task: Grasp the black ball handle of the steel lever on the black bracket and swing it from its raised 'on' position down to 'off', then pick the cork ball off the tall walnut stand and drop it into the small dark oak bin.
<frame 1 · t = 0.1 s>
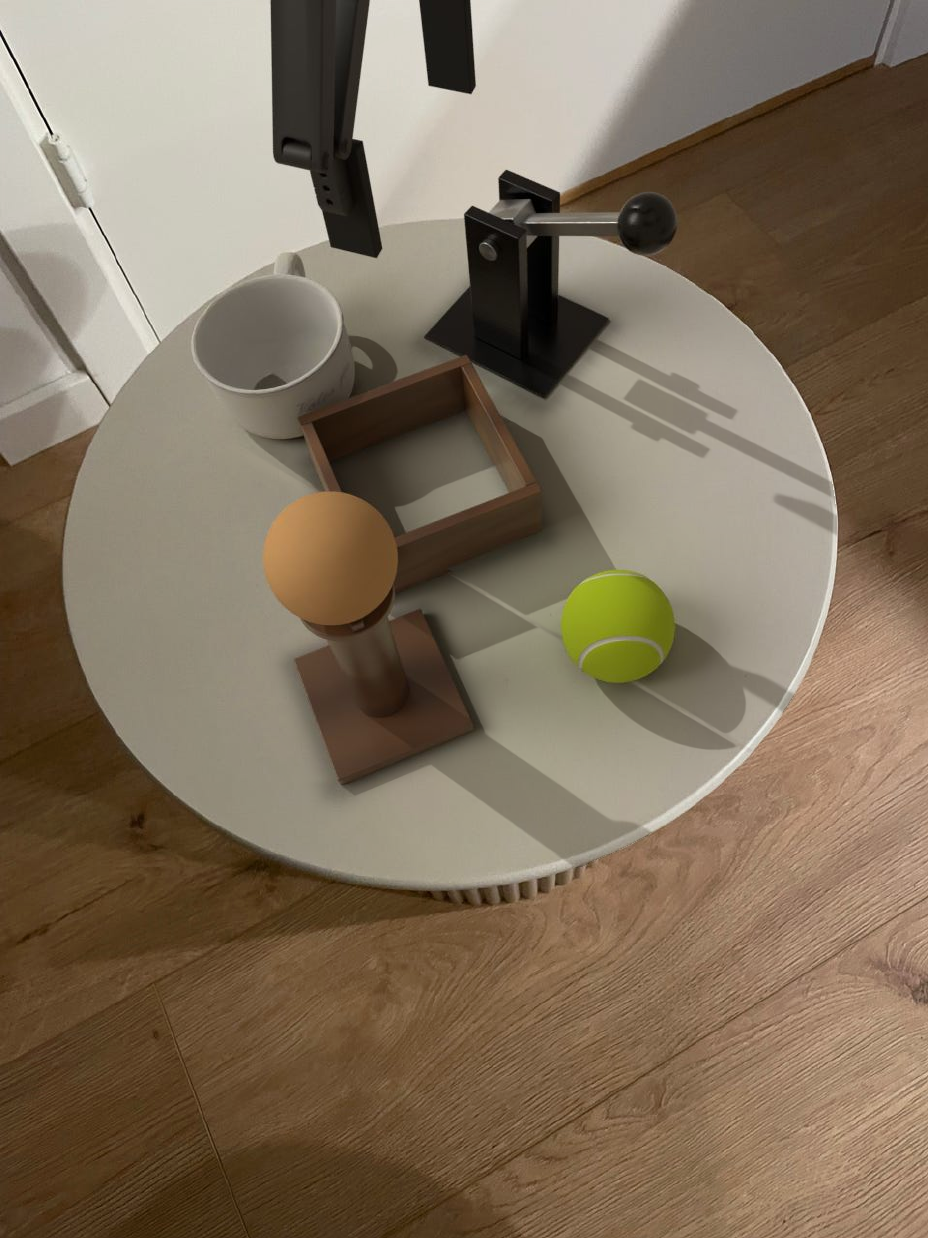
hand: (406, 163, 56), 21 cm above the table, tool pointing down, fingers open, 13 cm apart
bracket: (516, 337, 77), on the table
bin: (424, 501, 71), on the table
teacup: (299, 387, 77), on the table
stand: (383, 698, 65), on the table
tennis ball: (613, 651, 65), on the table
lever: (578, 224, 64), point 13 cm above the table, hinge at 25.0°
cork ball: (331, 558, 48), point 18 cm above the table, touching stand
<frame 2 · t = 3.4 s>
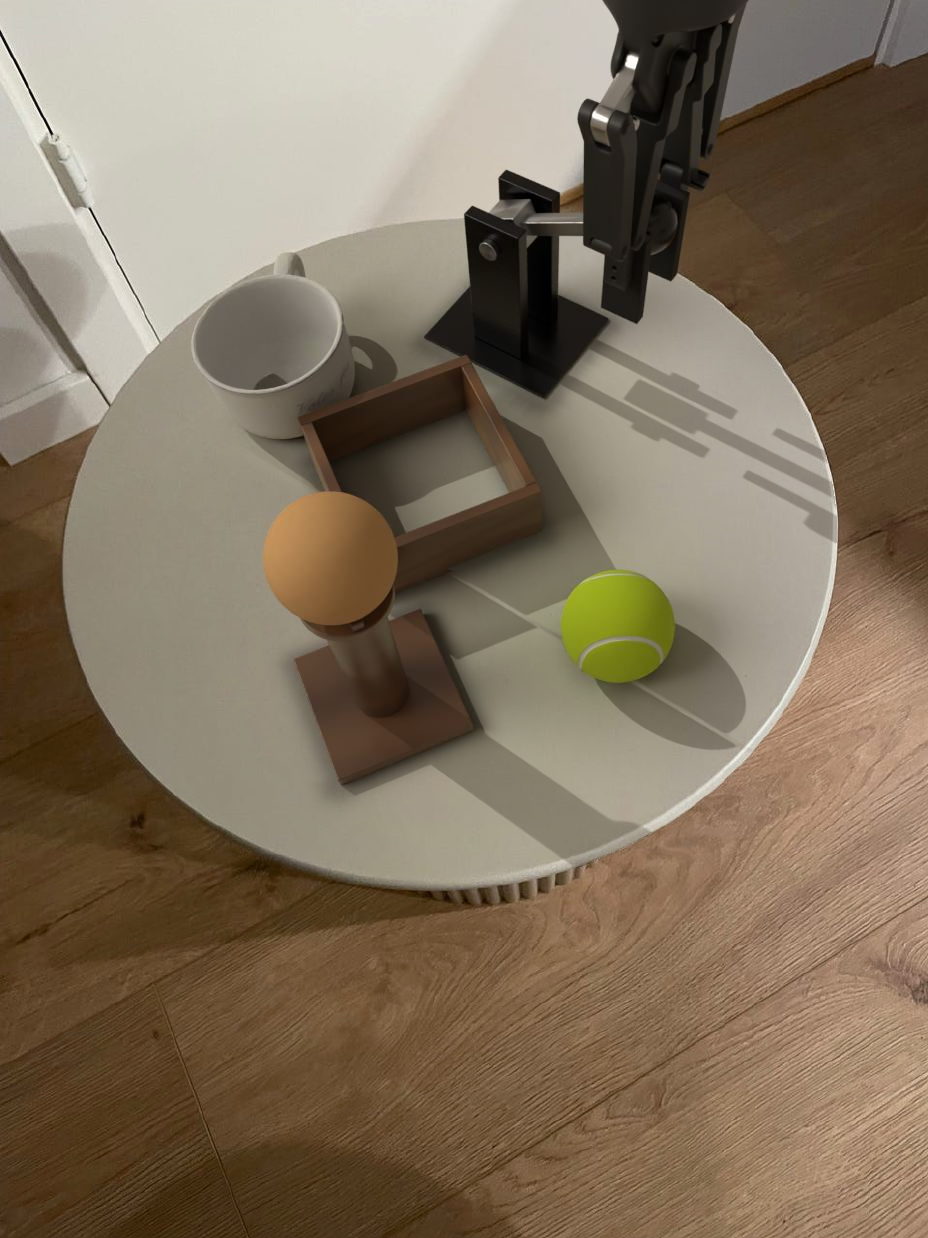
hand: (639, 290, 65), 10 cm above the table, tool pointing down, fingers closed on lever, 4 cm apart
lever: (578, 224, 64), point 13 cm above the table, hinge at 25.0°, touching gripper
everything else where it was.
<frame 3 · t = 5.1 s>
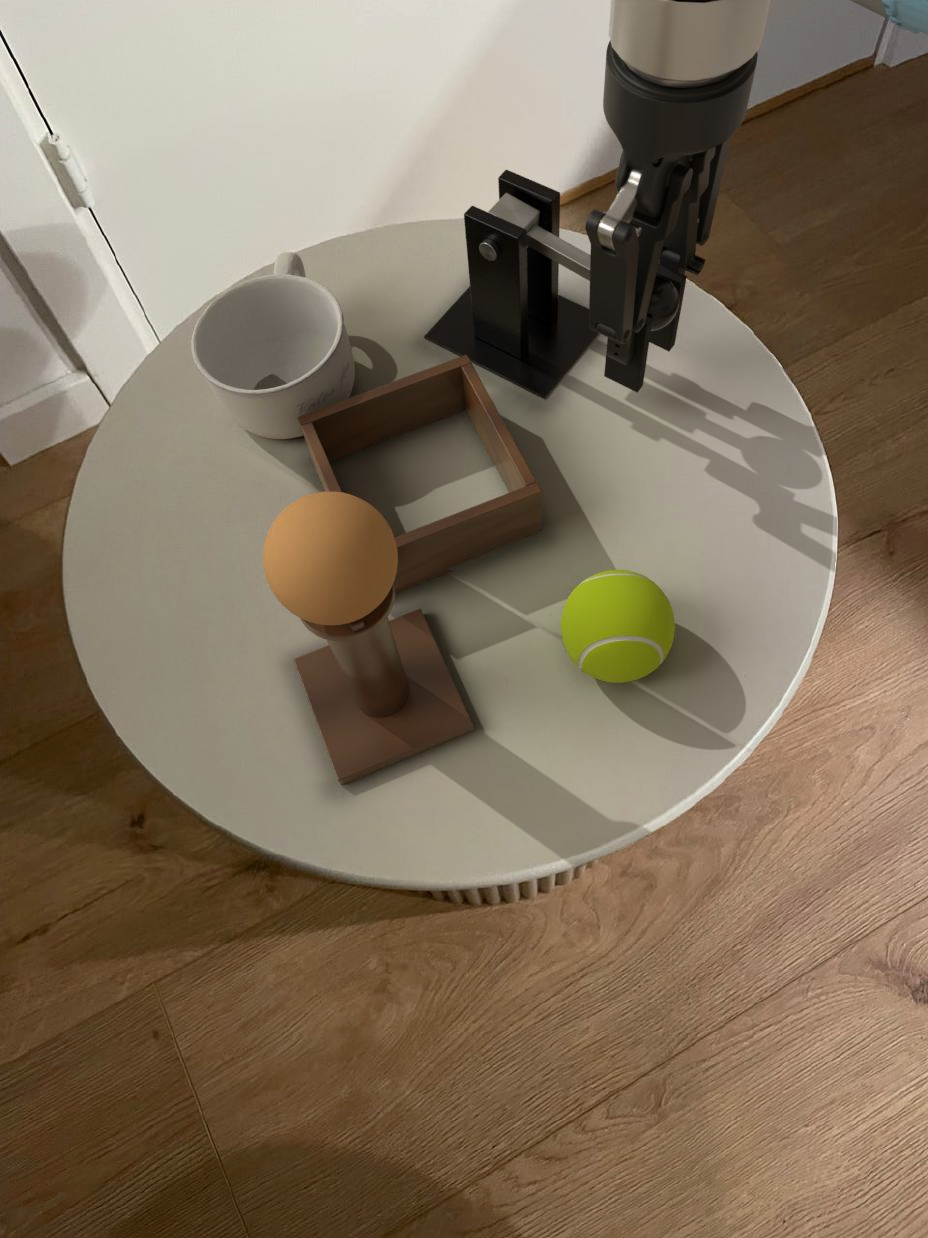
hand: (639, 359, 70), 4 cm above the table, tool pointing down, fingers closed on lever, 4 cm apart
lever: (583, 264, 66), point 10 cm above the table, hinge at -7.0°, touching gripper
everything else where it was.
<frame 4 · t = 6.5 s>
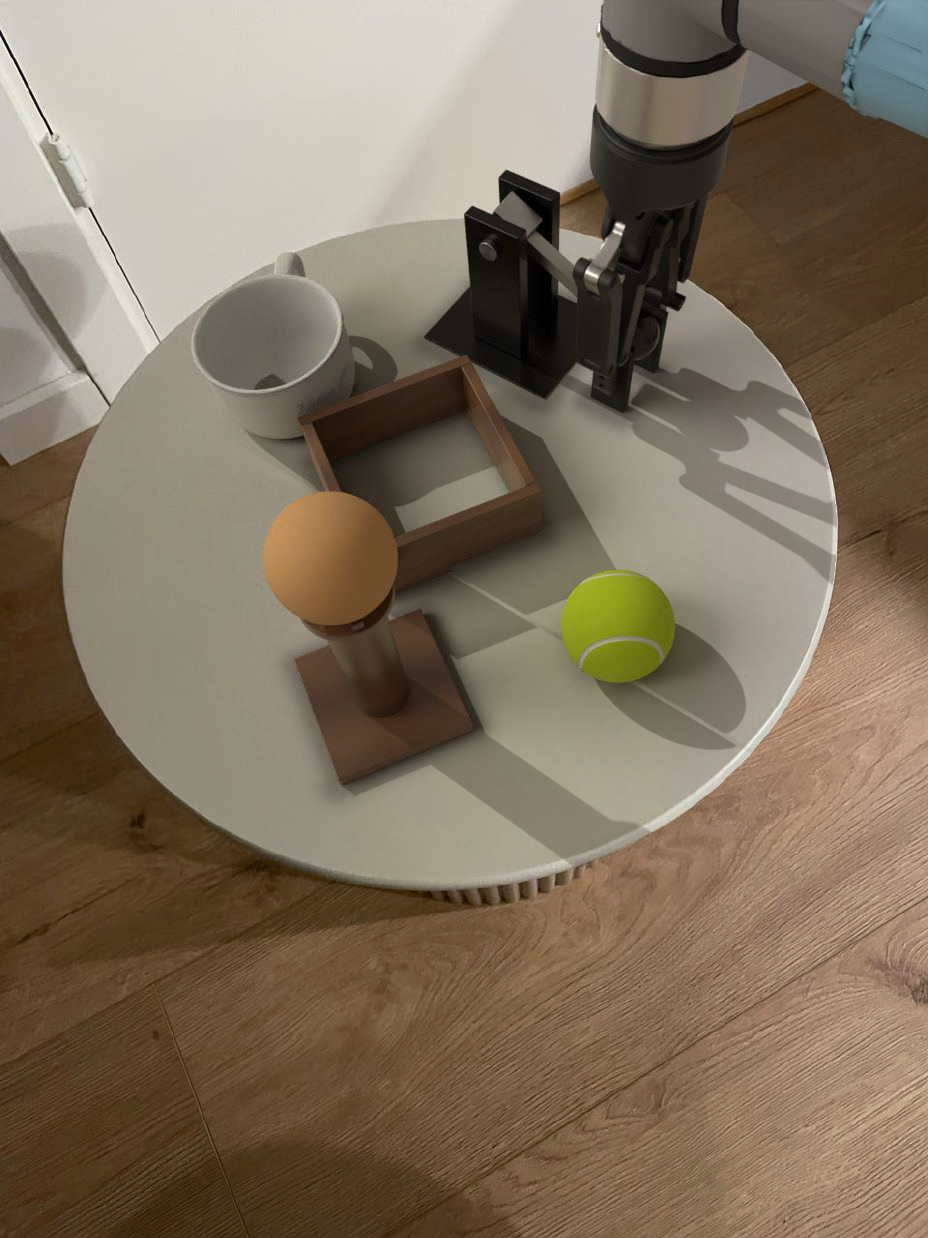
hand: (623, 388, 74), 0 cm above the table, tool pointing down, fingers closed on lever, 4 cm apart
lever: (575, 281, 68), point 9 cm above the table, hinge at -26.0°, touching gripper
everything else where it was.
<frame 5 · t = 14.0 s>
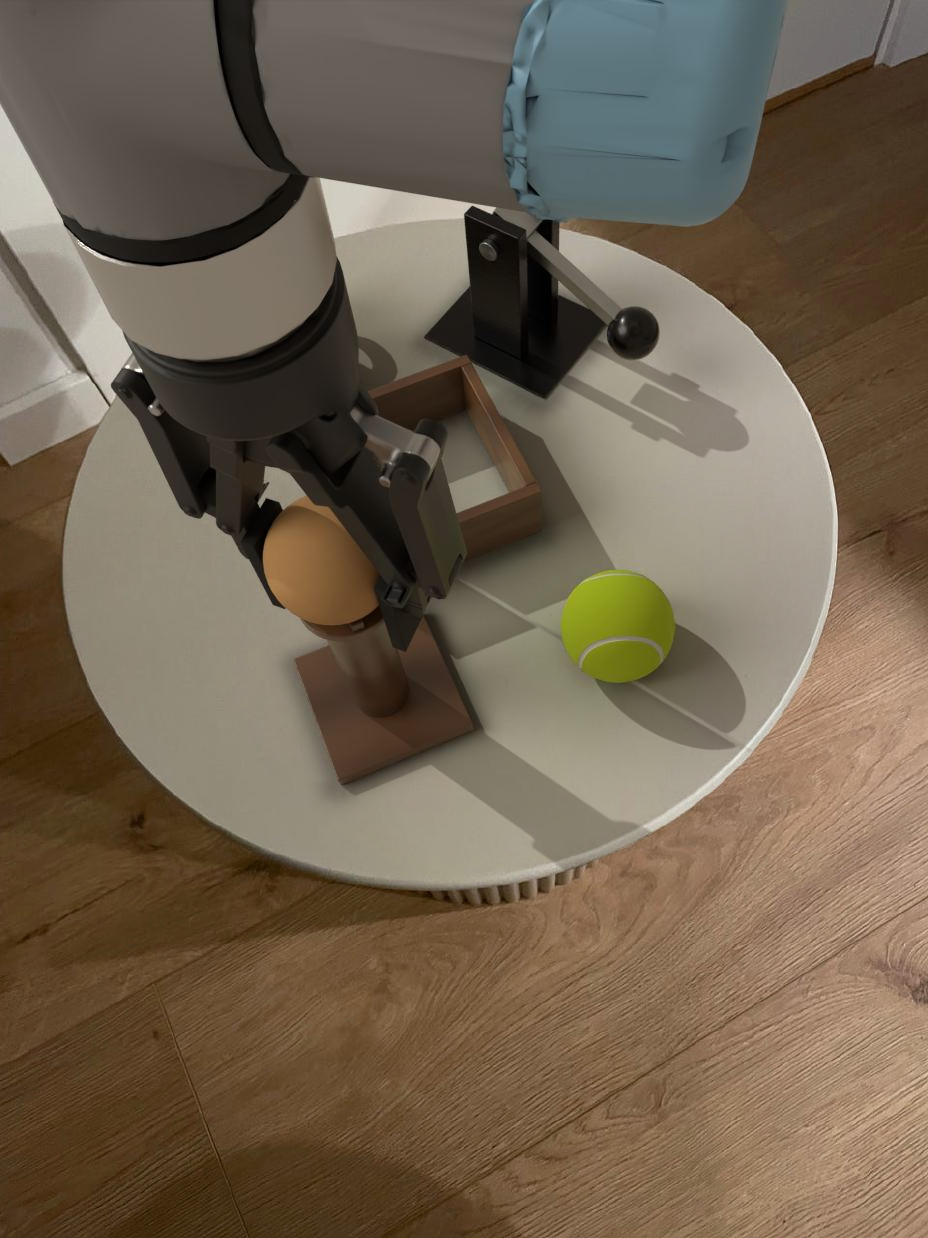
hand: (349, 606, 53), 13 cm above the table, tool pointing down, fingers closed on cork ball, 6 cm apart
lever: (575, 281, 68), point 9 cm above the table, hinge at -26.0°
cork ball: (330, 558, 48), point 18 cm above the table, touching gripper, stand
everything else where it was.
when the fingers open (5 cm above the table, at t = 22.2 s): cork ball drops 6 cm, resting on bin.
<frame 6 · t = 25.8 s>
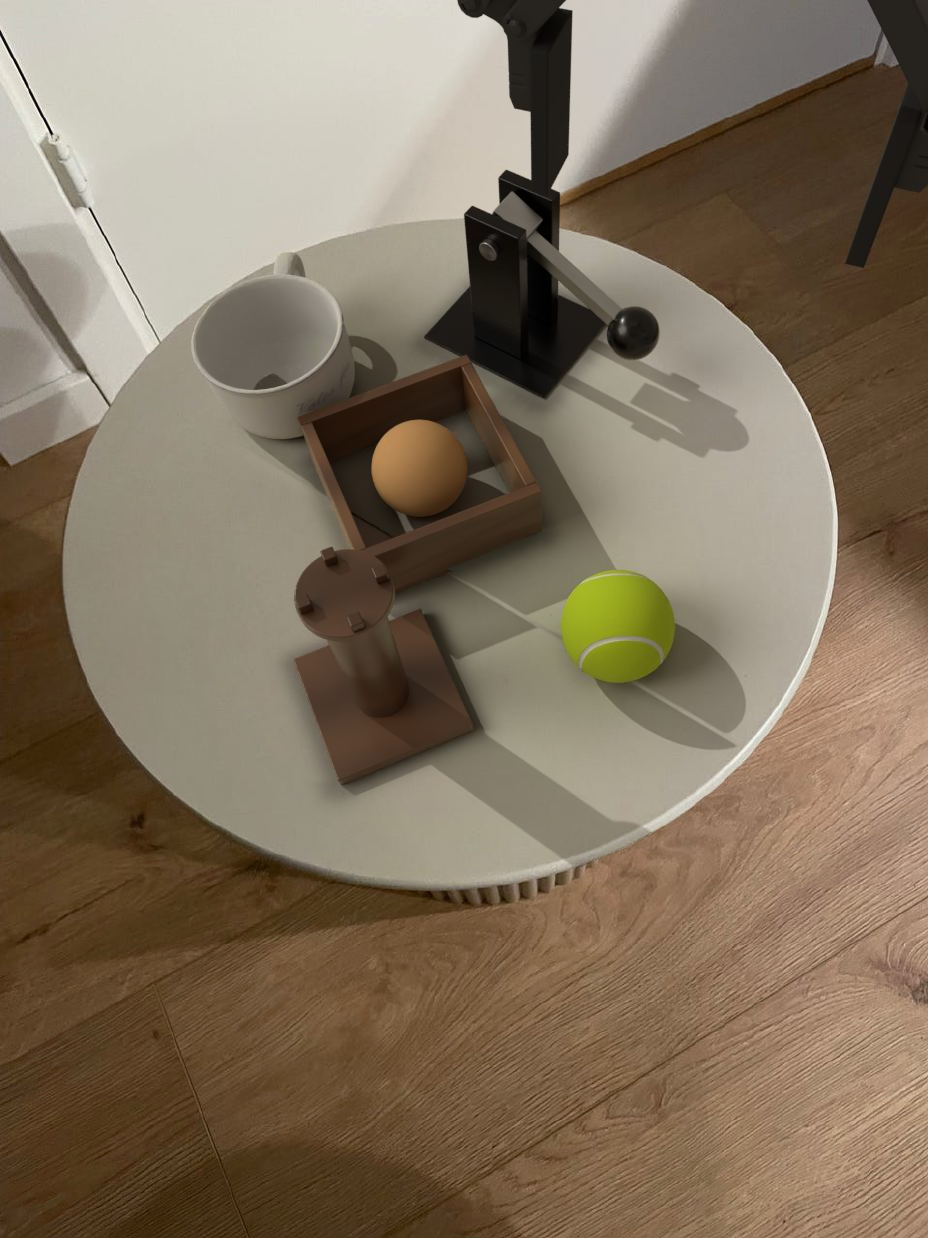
hand: (700, 207, 43), 29 cm above the table, tool pointing down, fingers open, 13 cm apart
cork ball: (419, 468, 67), point 4 cm above the table, touching bin
everything else where it was.
at the end: lever at -26° (first picture: +25°); cork ball inside the target area in the bin (0.1 cm from its centre), point 4.0 cm above the bin's base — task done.
